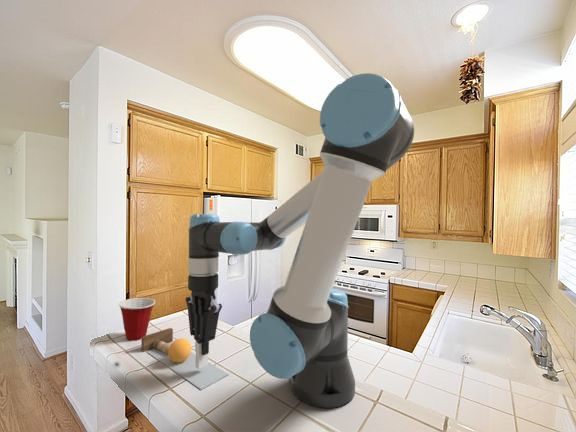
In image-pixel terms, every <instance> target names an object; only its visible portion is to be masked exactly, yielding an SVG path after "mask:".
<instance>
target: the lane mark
mask: <svg viewBox="0 0 576 432" xmlns="http://www.w3.org/2000/svg"><path fill="white" fill-rule="evenodd" d="M172 343H173V342H170V343H169V344H170V345H171V344H172ZM146 353H147V354H148V355H151V356H152V357H153V358H155V359H156V360H157V361H159V362H160V363H162V364H163V365H164V366H166V367H167V368H169V369H170V370H171V371H173V372H175V373H176V374H177V375H179V376H180V377H182V378H183V379H185V381H187V382H189V383H190V384H192V385H194V386H195V387H196V388H198V389H199V390H200V391H202V390H204V389H206V388H208V387H210V386H211V385H213V384H215V383H217V382H219V381H221V380H222V379H224V378H226V377H227V376H229V375H230V374H229V373H228V372H227V371H224V370H223V369H220V368H219V367H217V366H215V365H214V364H212V363H210V362H209V361H208V365H206V366H204V367H202V368H200V369H198V368H196V367H195V362H196V354H194V353H192V352H191V353H190V355H189V357H188V358H187V359H186V360H185V361H183V362H179V363H177V362H173V361H172V360H171V359H170V358H169V355H168V354H166V353H164V352H162V351H160V350H157V349H156V348H153V349H150V350H147V351H146Z"/></svg>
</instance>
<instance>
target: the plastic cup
mask: <svg viewBox="0 0 576 432" xmlns="http://www.w3.org/2000/svg"><path fill="white" fill-rule="evenodd" d="M155 304H156V300H155V299H152V298H149V297H133V298H127V299H124V300H123V301H120V302H119V304H118V306H119V308H120V311H121V317H122V321H123V322H122V323H123V329H124V334H125V335H124V336H125V338H126V341H130V342H134V341H139V340H142V337H143V336H146V335H147V332H148V327H149V323H150V320H151V315H152V310H153V308H154V306H155Z"/></svg>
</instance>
